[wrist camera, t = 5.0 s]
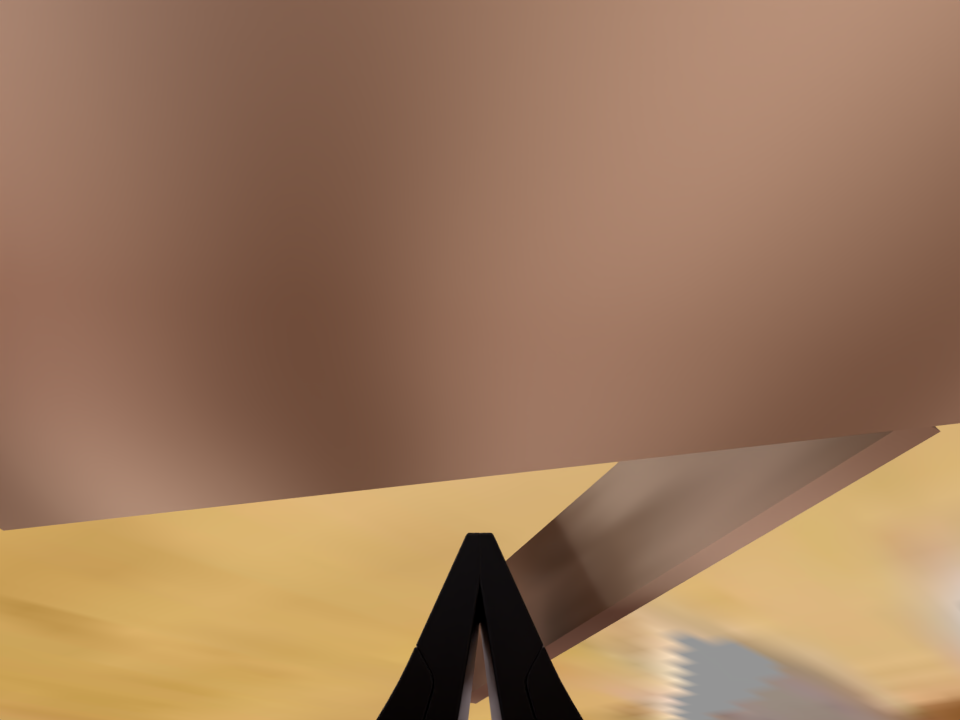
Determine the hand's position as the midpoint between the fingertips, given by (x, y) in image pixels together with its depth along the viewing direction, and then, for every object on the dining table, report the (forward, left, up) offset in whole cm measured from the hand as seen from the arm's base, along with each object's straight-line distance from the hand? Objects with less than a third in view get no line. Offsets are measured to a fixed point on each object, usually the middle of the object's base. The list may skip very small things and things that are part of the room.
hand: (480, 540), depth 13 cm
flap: (+3, 0, -1) cm, 3 cm away
